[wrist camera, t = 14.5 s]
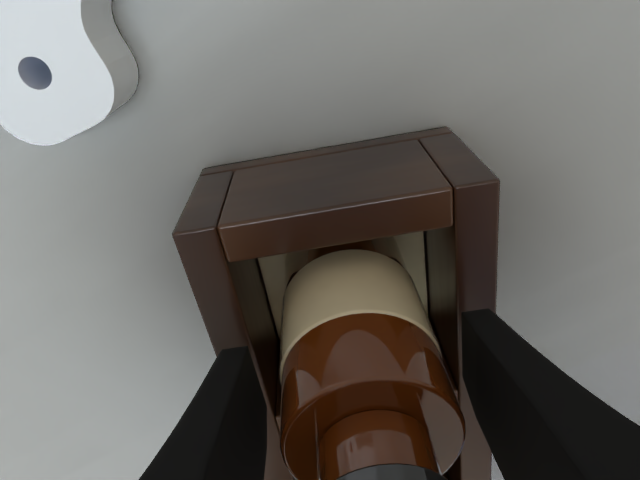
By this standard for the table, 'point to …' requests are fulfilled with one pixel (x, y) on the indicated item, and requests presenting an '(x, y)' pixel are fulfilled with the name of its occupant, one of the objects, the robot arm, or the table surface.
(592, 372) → the table surface
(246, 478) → the robot arm
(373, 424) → the spice bottle
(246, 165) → the cup holder
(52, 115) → the mounting plate
